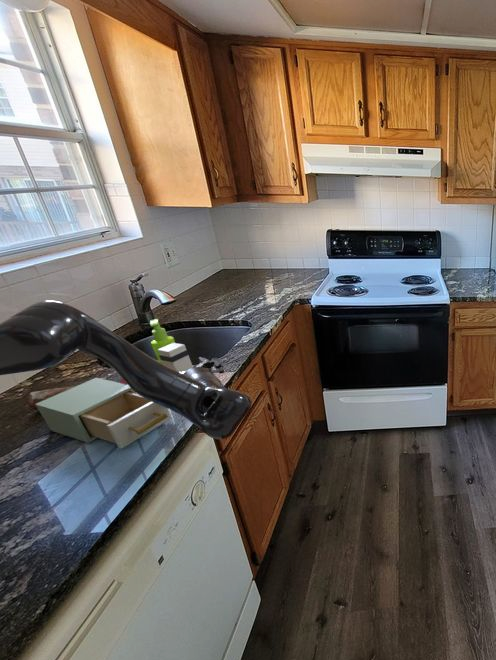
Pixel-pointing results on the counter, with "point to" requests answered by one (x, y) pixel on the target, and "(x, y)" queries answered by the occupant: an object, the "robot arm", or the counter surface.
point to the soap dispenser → (159, 338)
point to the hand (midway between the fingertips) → (182, 366)
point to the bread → (44, 395)
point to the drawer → (124, 419)
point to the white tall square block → (175, 357)
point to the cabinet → (78, 406)
